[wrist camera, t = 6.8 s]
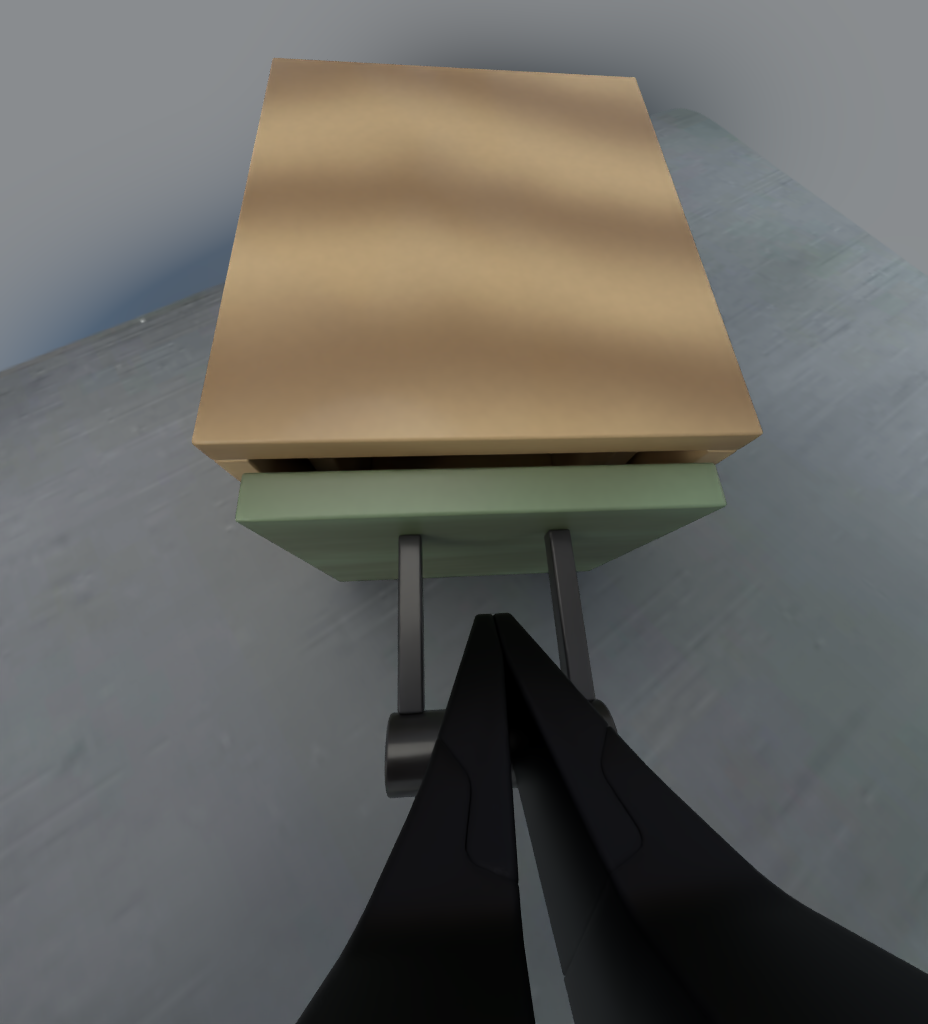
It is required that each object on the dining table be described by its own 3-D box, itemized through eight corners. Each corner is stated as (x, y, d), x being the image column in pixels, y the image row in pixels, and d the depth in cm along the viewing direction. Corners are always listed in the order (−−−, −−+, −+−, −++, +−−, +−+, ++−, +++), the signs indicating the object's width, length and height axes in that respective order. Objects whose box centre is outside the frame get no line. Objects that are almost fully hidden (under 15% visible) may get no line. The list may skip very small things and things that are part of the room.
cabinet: (590, 545, 18) (765, 434, 8) (332, 555, 18) (189, 443, 8) (552, 319, 23) (635, 76, 13) (347, 317, 22) (271, 56, 12)
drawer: (613, 711, 15) (818, 796, 7) (330, 731, 14) (179, 854, 6) (552, 339, 22) (621, 151, 13) (352, 339, 21) (293, 138, 12)
